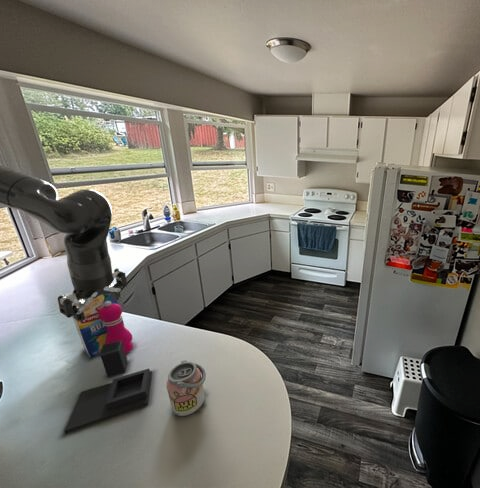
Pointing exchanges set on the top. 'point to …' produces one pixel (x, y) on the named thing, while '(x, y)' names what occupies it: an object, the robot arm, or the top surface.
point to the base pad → (110, 400)
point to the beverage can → (186, 387)
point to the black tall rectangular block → (113, 358)
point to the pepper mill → (115, 325)
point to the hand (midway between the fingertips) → (98, 308)
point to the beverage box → (93, 325)
